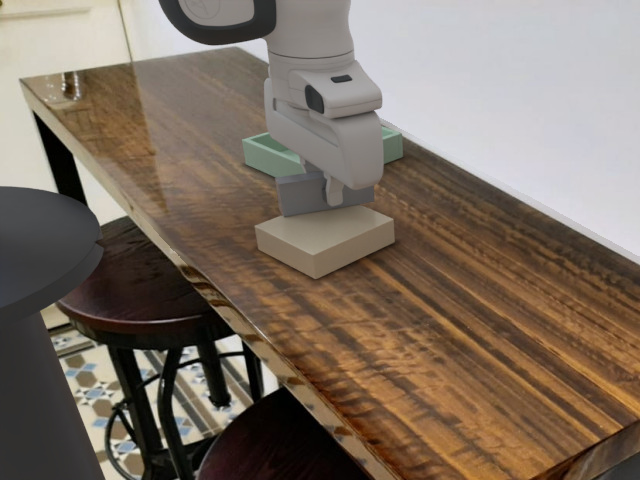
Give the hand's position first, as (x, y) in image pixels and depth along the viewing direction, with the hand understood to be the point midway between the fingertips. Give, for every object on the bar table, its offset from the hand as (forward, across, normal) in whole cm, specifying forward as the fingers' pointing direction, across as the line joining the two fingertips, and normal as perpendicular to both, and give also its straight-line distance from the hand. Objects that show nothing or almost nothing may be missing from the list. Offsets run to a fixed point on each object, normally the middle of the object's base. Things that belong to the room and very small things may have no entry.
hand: (325, 198), depth 87 cm
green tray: (+4, -19, +11) cm, 22 cm away
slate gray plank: (+1, 0, 0) cm, 1 cm away
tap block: (+4, +4, -2) cm, 6 cm away
